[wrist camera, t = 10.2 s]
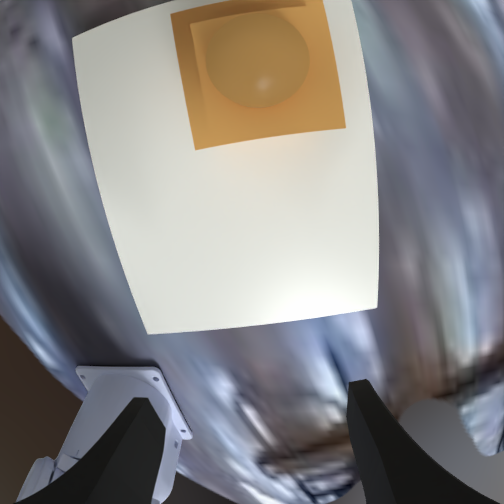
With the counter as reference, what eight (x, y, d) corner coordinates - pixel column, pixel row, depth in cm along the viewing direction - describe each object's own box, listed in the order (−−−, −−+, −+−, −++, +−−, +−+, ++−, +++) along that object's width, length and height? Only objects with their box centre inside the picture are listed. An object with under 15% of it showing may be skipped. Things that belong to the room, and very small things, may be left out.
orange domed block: (321, 124, 14) (354, 129, 9) (214, 139, 14) (188, 154, 9) (303, 24, 12) (325, -20, 7) (195, 40, 12) (161, 5, 7)
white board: (370, 294, 19) (376, 307, 18) (154, 320, 20) (147, 334, 19) (339, -11, 12) (345, -20, 11) (85, 42, 13) (72, 38, 12)
